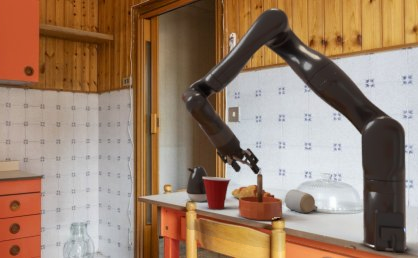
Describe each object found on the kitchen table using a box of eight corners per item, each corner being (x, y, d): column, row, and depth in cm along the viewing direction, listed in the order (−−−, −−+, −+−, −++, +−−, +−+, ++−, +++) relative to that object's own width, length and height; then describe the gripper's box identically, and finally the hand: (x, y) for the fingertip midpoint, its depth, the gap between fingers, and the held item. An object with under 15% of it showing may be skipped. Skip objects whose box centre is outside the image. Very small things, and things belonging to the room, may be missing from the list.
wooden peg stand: (268, 217, 136) (267, 174, 136) (252, 216, 138) (251, 174, 138) (267, 213, 141) (267, 173, 141) (252, 213, 143) (252, 172, 143)
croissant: (228, 205, 180) (222, 190, 178) (239, 192, 186) (234, 177, 183) (271, 211, 164) (265, 194, 161) (282, 197, 169) (277, 181, 167)
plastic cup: (236, 209, 153) (236, 177, 153) (212, 211, 149) (212, 179, 149) (220, 204, 163) (220, 175, 163) (197, 206, 159) (197, 176, 159)
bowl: (283, 222, 131) (283, 204, 131) (238, 219, 135) (238, 201, 135) (280, 213, 144) (280, 197, 144) (239, 211, 148) (239, 195, 148)
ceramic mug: (301, 214, 142) (301, 192, 142) (284, 210, 150) (284, 189, 150) (323, 212, 146) (323, 191, 146) (305, 208, 154) (305, 188, 154)
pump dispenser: (181, 200, 174) (181, 165, 174) (201, 198, 179) (201, 164, 179) (194, 203, 165) (194, 166, 165) (215, 201, 169) (215, 165, 169)
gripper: (244, 129, 126) (270, 164, 132) (213, 130, 138) (238, 161, 144) (232, 147, 123) (258, 181, 129) (202, 145, 136) (227, 177, 141)
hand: (247, 171), depth 137 cm, fingers open, 8 cm apart
